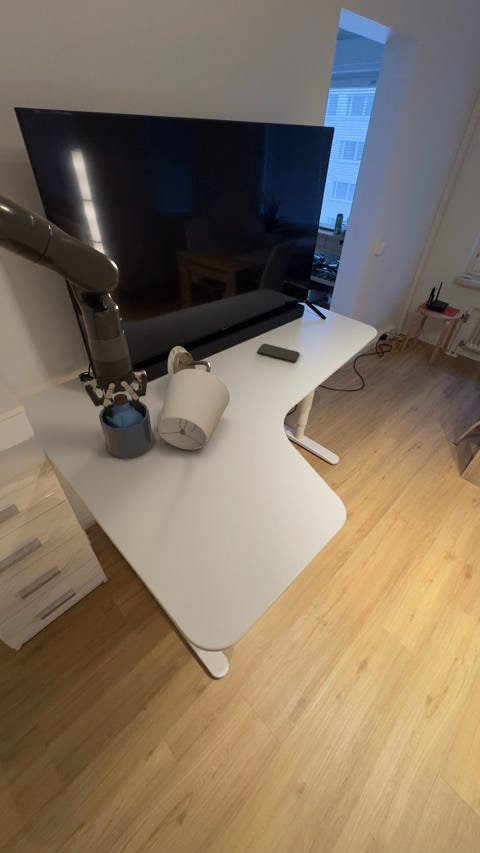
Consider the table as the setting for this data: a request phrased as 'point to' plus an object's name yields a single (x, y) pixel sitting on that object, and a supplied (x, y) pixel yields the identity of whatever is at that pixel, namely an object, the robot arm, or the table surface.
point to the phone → (278, 352)
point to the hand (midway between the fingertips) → (123, 412)
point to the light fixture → (191, 402)
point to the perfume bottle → (123, 413)
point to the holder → (128, 435)
